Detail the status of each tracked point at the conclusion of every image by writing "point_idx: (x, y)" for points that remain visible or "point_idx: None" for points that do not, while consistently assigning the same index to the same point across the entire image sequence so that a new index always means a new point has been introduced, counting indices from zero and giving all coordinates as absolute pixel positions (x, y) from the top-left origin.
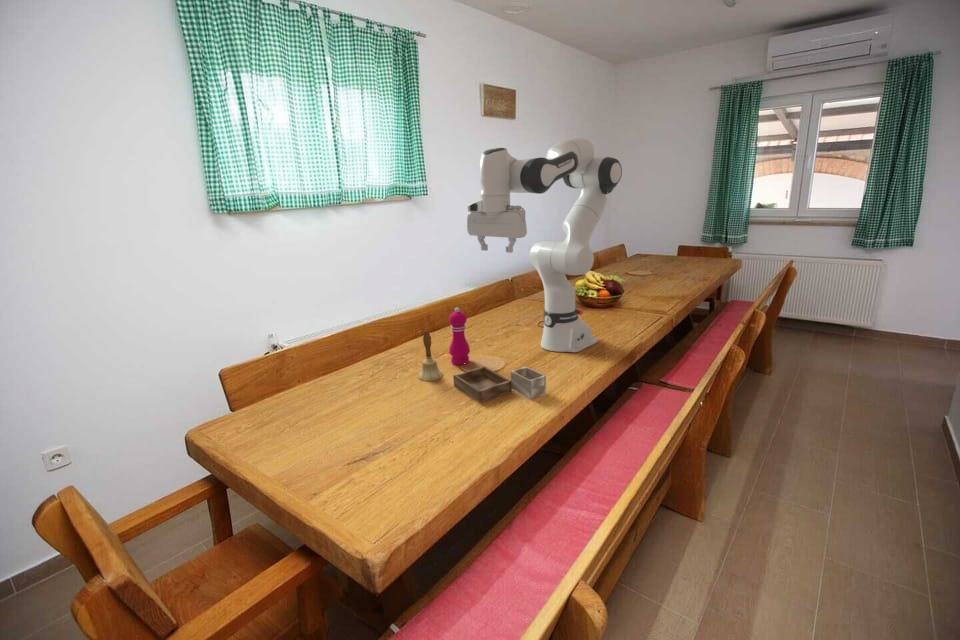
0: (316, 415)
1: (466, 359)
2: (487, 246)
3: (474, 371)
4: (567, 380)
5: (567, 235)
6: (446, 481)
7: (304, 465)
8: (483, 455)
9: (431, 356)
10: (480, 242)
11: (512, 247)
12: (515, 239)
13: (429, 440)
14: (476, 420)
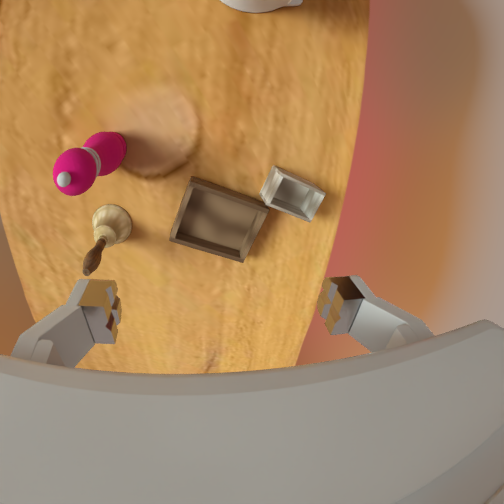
0: (108, 351)
1: (124, 150)
2: (108, 300)
3: (186, 205)
4: (328, 124)
5: None
6: (287, 351)
7: None
8: (298, 320)
9: (105, 238)
10: (75, 360)
11: (369, 297)
12: (423, 334)
13: (239, 331)
14: (261, 285)
